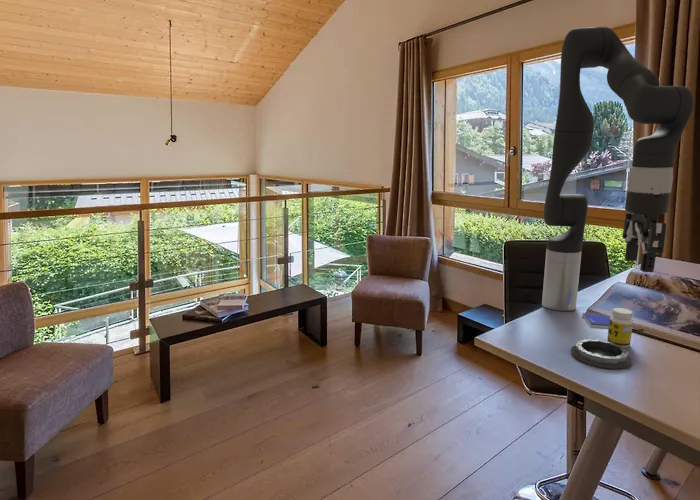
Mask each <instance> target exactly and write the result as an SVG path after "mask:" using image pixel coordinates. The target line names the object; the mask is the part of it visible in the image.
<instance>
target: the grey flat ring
mask: <svg viewBox="0 0 700 500" xmlns="http://www.w3.org/2000/svg"><path fill="white" fill-rule="evenodd" d="M570 355H571V357H572V358H574V359H575V360H577V361H578V362H580V363H582V364H584V365H586V366H590V367H593V368H597V369H604V370H607V371H619V370H625V369H628V368H629V369H630V367H631V366H633V365H632V364H633V359H632V357H631V356H630V355H629V351H628V350H627V349H626V348H625V347H622V346H619V345H617V344H615V343H612V342H608V341H607V340H603V339H596V338H595V339H594V338H591V339H590V338H586V339H581V340H578V341H577V342H576V344H575V345H573V346H572V347H571V349H570Z"/></svg>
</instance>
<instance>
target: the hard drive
mask: <svg viewBox="0 0 700 500" xmlns="http://www.w3.org/2000/svg"><path fill="white" fill-rule="evenodd" d="M598 314H599V313H588V312H583V313H582V318H583V319H584V320H585V322H586V323H587V324H588V325H589V327H591V328H603V329H609V322H610V318H609V317H605V316H601V315H598Z"/></svg>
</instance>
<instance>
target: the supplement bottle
mask: <svg viewBox="0 0 700 500" xmlns="http://www.w3.org/2000/svg"><path fill="white" fill-rule="evenodd" d="M611 315H613V316H611V317H610V322H609V328H607V329H608V332H607V340H606V341H608V342H612V343H615V344H617V345H619V346H622V347H623V348H628V347H630V345H631V340H632V334H633V333H632V332H633V330H632V327H633V320H632V319H631V318H632V316H633V311H632V310H630V309H627V308H622V307H615V308H613V309H612V312H611Z"/></svg>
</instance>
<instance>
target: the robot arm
mask: <svg viewBox="0 0 700 500" xmlns="http://www.w3.org/2000/svg"><path fill="white" fill-rule="evenodd" d="M560 55H561V57H560V74H559V75H560V79H559V80H560V81H559V96H558V97H559V98H558V106H557V114H556V121H555V126H554V127H555V128H554V135H553V143H552V155H551V166H550V175H549V179H548V180H549V181H548V185H547V190H546V193H545V201H544V208H543V221H544V223H545V224H546V225H547V226H549V227H569V228H568V230H566V231H565V232H563V233H561V234H558V235H556V236H551V237H549V238H548V239H547V241H546V250H545V251H546V252H545V262H544V263H545V264H544V275H543V276H544V277H543V288H542V297H541V298H542V300H541V305H542V307H545V308H547V309H548V310H549V309H550V310H554V311H559V312H562V311H563V312H570V311H574V310H576V308H577V302H578V301H577V299H578V290H579V279H580V270H581V262H582V261H581V260H582V251H583V243H584V237H585V230H586V229H585V227H586V223H587V216H588V209H589V208H588V207H589V206H588V205H589V203H588V198H587V197H586V195H584V194H581V193H561V192H562V190H563V188H564V185H565V183H566V181H567V179H568V178H569V176H570V175H571V173H572V172H573V171H574V170H575V169H576V167H577V166H579V164H580V163H581V162H582V161H583V159H584V158H585V157H587V154H588V153H589V151H590V150H591V147H592V143H593V136H594V130H595V129H594V128H595V119H594V116H593V113H592V111H591V109H590V107H589V106H588V104H587V101H586V100H585V98H584V96H583V93H582V89H581V79H580V78H581V70H582V69H590V68H594V69H595V68H597V67H601V68H605V69H607V73H606V81H607V85H608V86H609V88H610V89H611V91H612V92H614V93H615V95H616V96H618V97H619V98H620V99H621V100H622V101H623V104H624V107H625V110H626V111H627V115H628V117H629V119H631V120H632V121H634V122H635V123H638V124H642V125H654V124H655V125H658V126H657V128H656V129H655V131H654V133H653V134H651V135H649V136H643V137H640V138H638V139H637V140H636V141H635V143H634V147H633V154H632V162H631V169H630V172H629V174H628V175H629V176H628V180H627V181H628V182H627V190H626V196H625V197H626V198H625V203H624V204H625V205H624V210H625V211H626V212H625V218H624V224H623V231H622V236H621V237H622V240H623V239H624V243H625V252H624V260H625V261H627V262H636V261H637V260H638V253H639V245H641V249H642V253H641V261H640V267H639V268H640V271H641V272H642V273H652V272H654V269H655V265H656V264H655V262H656V257H657V255H658V254H663V253H664V249H665V240H666V232H667V231H666V230H667V223H665V222H659V216H661V215H666V214H667V213H668V211H669V206H670V201H671V193H672V188H673V187H672V186H673V182H674V164H675V158H676V151H677V150H676V149H677V146H678V144H679V142H680V139H681V137H682V135H683V133H684V130H685V128H686V126H687V124H688V121H689V120H690V119H691V115H692V113H693V110H694V95H693V93H692V91H691V90H690V89H689V88H688V87H686V86H682V85H661V86H660V80H659V77H658V76H657V75H656V73H654V72H653V71H652V70H650V69H649V68H648V67H646V66H645V65H644V64H643V63H641V62H639V61H638V60H637V59H636V58H635V57H634V56H633V55H632V54H631V52H630V51H629V50H628V48H627V47H626V45H625V44H624V43H623V41H622V40H621V39H620V36H618V34H617V33H616V32H615V31H614V29H612V28H610V27H608V26H592V27H591V26H589V27H587V26H586V27H579V28H578V27H575V28H571V29H570V30H569V31H568V32H567V33H566V34H565V36H564V39H563V42H562V48H561V54H560Z"/></svg>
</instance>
